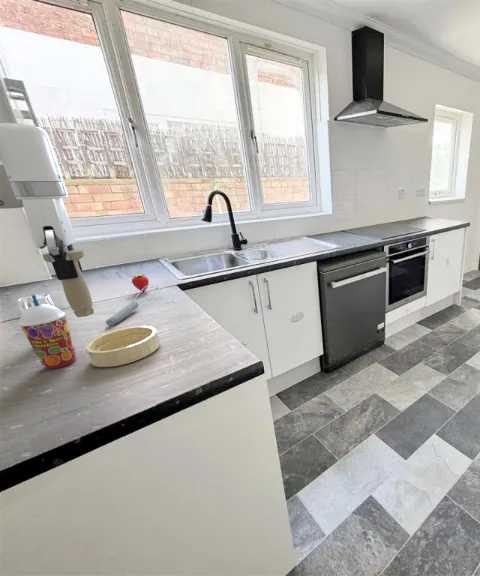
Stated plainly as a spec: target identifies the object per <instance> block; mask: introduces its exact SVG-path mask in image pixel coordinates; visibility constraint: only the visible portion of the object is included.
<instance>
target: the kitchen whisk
mask: <svg viewBox="0 0 480 576" xmlns="http://www.w3.org/2000/svg"><path fill="white" fill-rule="evenodd" d="M147 286H148V289H151V288H154V289H153V290H151V291H149V292H147V293H146V294H143V295H142V300H141V297H139V298H138V296H139V295H140V293H141V292H142V291H143V289H144V288H145V287H144V288H143V289H142V290H141V291H140V290H139V293H138V294H137V295H136V296H135V298H134V300H133V301H131V302H130V303H129V304H127V305H126V306H125V307H123V308H121V309H120V310H119V311H118V312H116V313H115V314H113V315H112V316H110V317H109V318H107V319H106V320H105V321H104V326H105V327H106V328H108V327H112V326H113V327H114V326H115V325H117V324H118V323H120V321H122V320H123V319H124V318H126V317H127V316H129V315H130V314H131V313H132V312H134V311H135V310H136V309H138V308H139V307H140V306H145V305H147V304H148V302H151V300H152V301H153V300H155V299H156V298H157V297H158V296H159V295H157V296H155V295H156V294H157V291H158V292H160V291H159V290H161V288H162V286H159V287H158V284H157V283H154V284H152V285H150V287H149V284H148V285H147ZM156 286H157V287H156ZM151 292H152V293H151ZM149 293H150V294H149ZM148 294H149V295H148ZM146 295H148V296H146ZM151 295H153V296H155V297H154V298H153V297H152V298H150V300H149V299H148V300H149V301H148V300H146V301H144V300H145V299H146V298H148V297H149V296H151ZM145 296H146V297H145ZM137 298H138V299H137ZM158 298H159V297H158ZM142 301H144V302H142ZM142 303H143V304H142Z"/></svg>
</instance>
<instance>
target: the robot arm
mask: <svg viewBox="0 0 480 576" xmlns="http://www.w3.org/2000/svg"><path fill="white" fill-rule="evenodd" d="M0 166H3V169H4V170H5V171H4V172H5V174H6V176H7V179H8V181H9V184H10V186H11V189H12V191H13V194H14V196H15V199H16V200H22V207H23V210H24V214H25V217H26V221H27V224H28V227H29V230H30V233H31V236H32V240H33V243H34V245H35V247H36V248H37V249H38V250H44V248H47V251H48V253H49V255H50V258H51V261H52V263H51V265H52V267H53V270H54V273H55V276H56V278H57V280H58V281H61V280H66V279H73V278H78V273H77V270H76V267H75V264H74V262H73V260H71V259H70V255H69V252H68V250H76V249H75V247H74V244H73V243H74V242H75V241H76V236H75V232H74V229H73V225H72V222H71V220H70V217H69V215H68V211H67V208H66V206H65V203H64V201H63V200H64V199H69V195H68V191H67V188H66V185H65V182H64V179H63V176H62V173H61V170H60V167H59V164H58V160H57V158H56V155H55V152H54V148H53V146H52V143H51V139H50V137H49V135H48V133H47V132H46V131H45V130H44V129H43V128H42V127H39V126H35V125H32V124H27V123H17V122H16V123H15V122H0ZM63 252H64V253H63ZM78 266H79V268H80V270H81V273H82V272H83V267H82V264H81V262H80V259H79V260H78Z"/></svg>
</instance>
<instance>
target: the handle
mask: <svg viewBox="0 0 480 576" xmlns="http://www.w3.org/2000/svg"><path fill="white" fill-rule="evenodd" d="M68 252H69V255H70V259H71V260H73V262H74V264H75V267H76V270H77V273H78V278H73V279H66V280H60V281H61V285H62V288H63V293H64V295H65V298H66V301H67V302H68V305H69V306H70V309H71V310H72V311H73V314H74V315H75V316H76V317H77V318H82V317H83V318H84V317H89V316H90V315H94V313H95V309H94V308H93V299H92V295H91V293H90V290H89V287H88V284H87V282H86V280H85V278H84V276H83V275H84V274H83V273H82V272H81V270H80V268H79V266H78V260H79V261H80V260H81V259H83V257H85V252H84V250H83V249H75V250H68ZM63 253H64V252H63ZM41 256H42V259H43V261H45V262H47V263H51V264H52V261H51V258H50V255H49V252H47V253H43V254H41Z"/></svg>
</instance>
